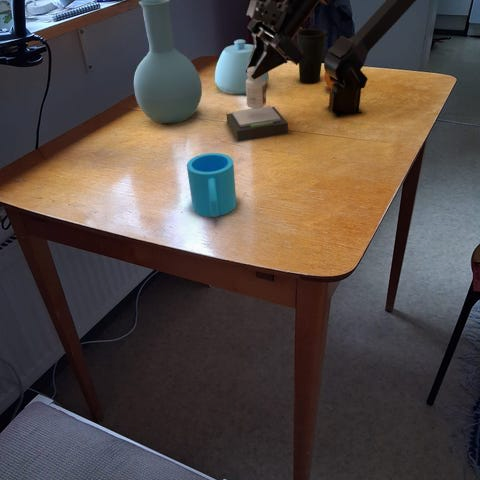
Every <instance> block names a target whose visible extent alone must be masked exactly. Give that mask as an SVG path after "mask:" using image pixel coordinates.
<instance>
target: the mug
mask: <svg viewBox="0 0 480 480" xmlns="http://www.w3.org/2000/svg"><path fill="white" fill-rule="evenodd" d="M186 170H187V171H186V172H187V179H188V185H189V191H190V199H191V207H192V210H193V211H194V212H195V214H198V215H199V216H202V217H213V218H217V217H220V216H224V215H227V214H229V213H231V212H232V211H233V210H234V209H235V208H236V207H237V191H236V179H235V165H234V160H233V158H232V157H231V156H230V155H228V154H226V153H225V154H224V153H221V152H207V153H202V154H199V155H195V156H194V157H192V158H190V159H189V160H188V161H187V163H186Z"/></svg>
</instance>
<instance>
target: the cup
mask: <svg viewBox="0 0 480 480" xmlns="http://www.w3.org/2000/svg"><path fill="white" fill-rule="evenodd" d="M326 35H327V31H326V30H325V29H321V28H306V29H305V28H304V30H303V29H301V30H298V32H297V33H296V42H297V43H296V44H297V45H298V46H299V47H300V48H301V49H302V50H303V58H302V59H301V61H300V62H299V63H298V71H299V72H298V74H299V75H298V76H299V82H300V83H302V84H305V85H311V84H317V83H318V82H320V80H321V71H322V65H323V57H324V51H325V44H326V43H325V42H326V37H327V36H326Z"/></svg>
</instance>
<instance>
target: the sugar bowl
mask: <svg viewBox="0 0 480 480" xmlns="http://www.w3.org/2000/svg"><path fill="white" fill-rule="evenodd" d="M233 43H234V44H232V45H229V46H226V47H225V48H224V49H223V50H222V52H221V53H220V56H219V59H218V61H217V63H216V67H215V71H214V83H215V85H216V86H217V87H218V89H220V90H221V92H223V93H225V94H230V95H246V80H247V79H248V78H249V77H248V75H247V73H246V72H245V70H246V67H247V64H248V61H249V58H250V56H251V53H252V50H253V46H254V44H249V43H246V40H245V39H236V40H234V41H233ZM269 76H270V75H269V72H267V73H265V74H263V76H262V77H263V78H264V79H265V82H266V84H267V83H268V82H269V78H270V77H269Z"/></svg>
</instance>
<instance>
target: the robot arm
mask: <svg viewBox="0 0 480 480" xmlns="http://www.w3.org/2000/svg"><path fill="white" fill-rule="evenodd" d="M416 2H417V0H385V1H384V2H383V3H382V4H381V5H380V6H379V8H378V9H377V10H376V11H375V12H374V13H373V14H372V15H371V16H370V17H369V18H368V19H367V21H366V22H365V23H364V24H363V25H362V26H361V28H359V29H358V31H357V32H356V33H355V34H354V35H353V36H351V37H349V38H347V37H345V36H342V35H340V37H338V39H336V41H335V43H334V44H333V45H332V46H331V47H329V48H328V49H327V51H328V52H327V53H326V55H325V57H324V59H323V61H324V62H323V69H324V72H325V71H326V73H327V74H328V75H329V78H330V81H333V82H334V83H335V84H332V89H331V91H329V98H328V101H329V102H328V106H327V109H328V110H329V111H330V112H331V113H332V114H333V115H334V116H335V117H338V118H340V117H346V116H352V115H359V114H362V112H363V110H362V109H361V108H360V106H361V105H360V104H361V95H362V89H365V88H366V86H367V82H368V80H369V79H368V77H367V76H366V74H365V73H364V72H363V71H362V69H363V67H364V65H365V62H366V60H367V57H368V54H369V53H370V51H371V50H372V49H373V48H374V47H375V46H376V45H377V43H378V42H379V41H380V40H381V39H382V38H383V37H384V36H385V35H386V34H387V33H388V32H389V30H390V29H391V28H392V27H393V26H394V25H395V24H396V23H397V22H398V21H399V20H400V19H401V18H402V17H403V16H404V15H405V13H406V12H407V11H408V10H409V9H410V8H411V7H412V6H413V5H414V4H415V3H416ZM319 3H322V4H324V5H326V6H329V5H330V4H331V0H284V1H282V2H281V1H279V2H276V1H274V0H265V2H263V1H260V0H250V1H249V5H248V8H247V11H246V16H247V17H250V19H251V20H250V21H249V23H248V24H247V26H246V27H247V29H249V31H251V36H252V42H253V45H254V46H253V50H252V53H251V56H250V58H249V61H248V64H247V67H246V70H245V72H246V73H247V69H248V68H250V67H254V66H256V67H255V68H254V70H253V72H252V74H251V77H252V78H253V79H257V78H258V77H260V76H262V75H263V74H265V73H267V72H268V73H270V71H272V70H274V69H276V68H278V67H280V66H282V65H283V64H287V63H288V60H287V58H289V59H290V62H291V63H293V64H294V65H295V66H299V62H300V61H301V59H302V58H303V50H302V49H301V48H300V47H299V46H298V44H297V43H296V42H295V40H294V38H295V36H296V35H297V32H299V31H300V29H301V30H305V28H306V27H307V24H306V23H305V22H306V21H307V19H308V18H309V16H310V15H311V14H312V12H313V11H314V10H315V8H316V7H317V5H318V4H319Z"/></svg>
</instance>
